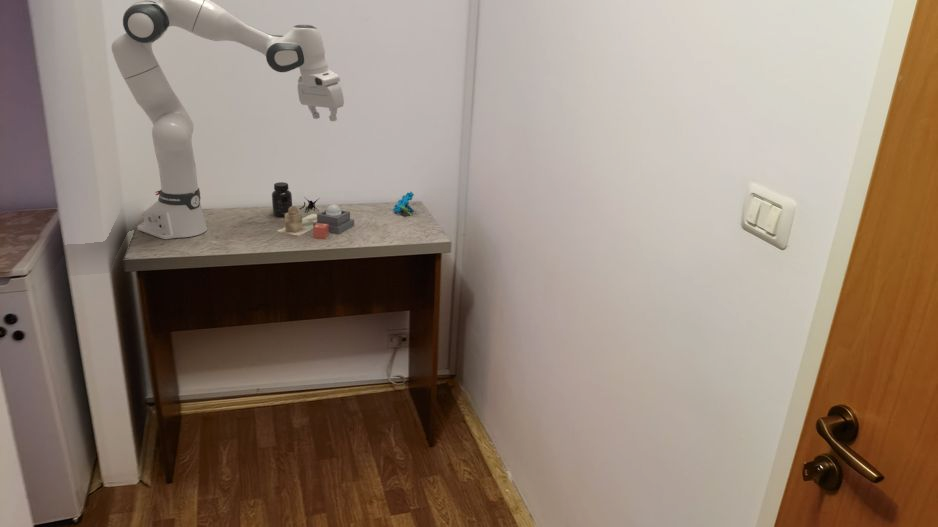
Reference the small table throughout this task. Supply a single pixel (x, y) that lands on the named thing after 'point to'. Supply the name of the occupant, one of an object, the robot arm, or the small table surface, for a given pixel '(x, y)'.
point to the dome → (333, 210)
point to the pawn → (293, 220)
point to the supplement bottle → (281, 199)
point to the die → (321, 231)
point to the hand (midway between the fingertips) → (325, 119)
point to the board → (303, 225)
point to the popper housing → (336, 221)
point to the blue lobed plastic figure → (404, 204)
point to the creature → (310, 205)
